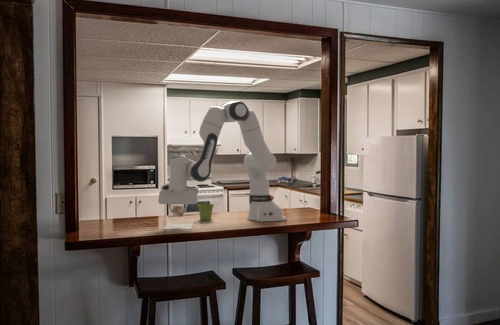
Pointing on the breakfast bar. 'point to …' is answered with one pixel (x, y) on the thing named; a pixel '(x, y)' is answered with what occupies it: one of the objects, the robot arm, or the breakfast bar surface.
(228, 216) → the breakfast bar surface
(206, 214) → the plant pot
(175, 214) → the birch block
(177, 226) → the sage mat
